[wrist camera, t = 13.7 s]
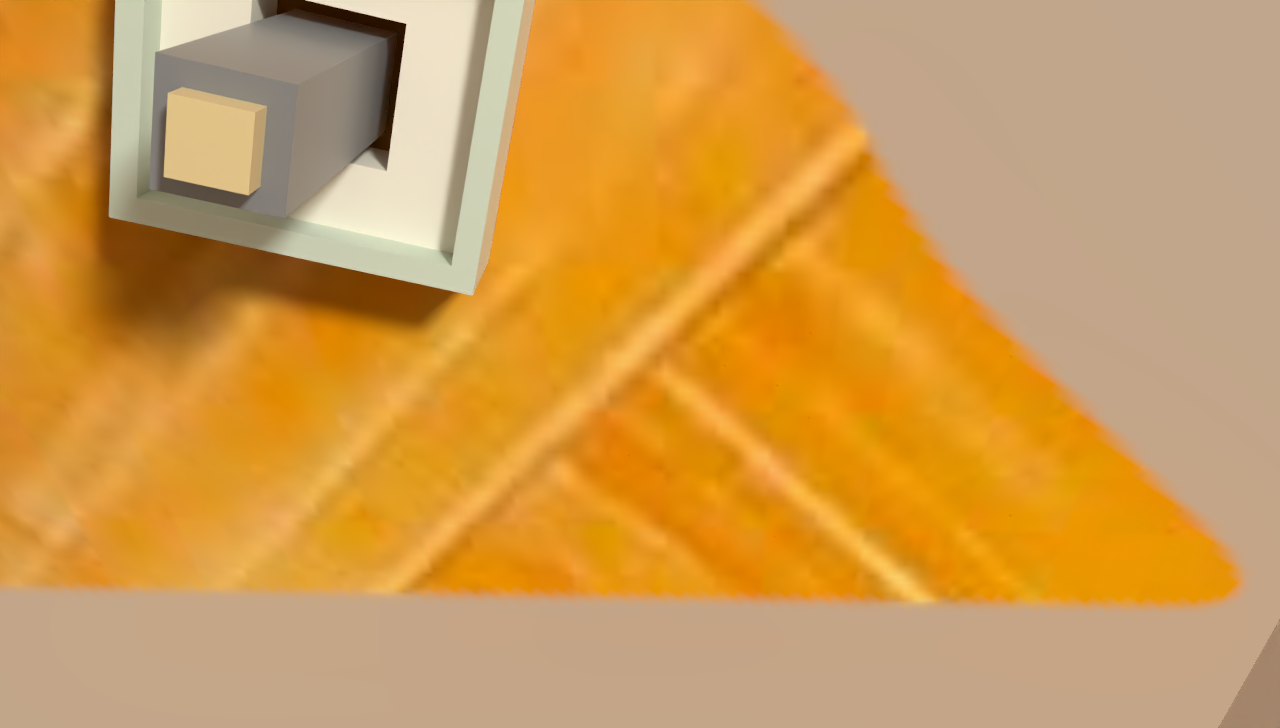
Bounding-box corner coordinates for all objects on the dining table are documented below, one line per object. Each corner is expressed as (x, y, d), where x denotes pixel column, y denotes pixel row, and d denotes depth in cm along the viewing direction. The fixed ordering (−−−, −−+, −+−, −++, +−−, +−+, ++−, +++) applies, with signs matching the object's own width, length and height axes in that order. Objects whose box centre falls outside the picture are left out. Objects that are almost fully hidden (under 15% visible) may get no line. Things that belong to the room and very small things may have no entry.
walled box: (158, 188, 45) (108, 217, 41) (175, -148, 40) (120, -153, 36) (488, 259, 46) (472, 295, 42) (545, -58, 41) (533, -53, 37)
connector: (287, 109, 43) (134, 197, 31) (296, 9, 42) (139, 57, 29) (385, 131, 44) (273, 228, 31) (398, 32, 42) (286, 90, 29)
